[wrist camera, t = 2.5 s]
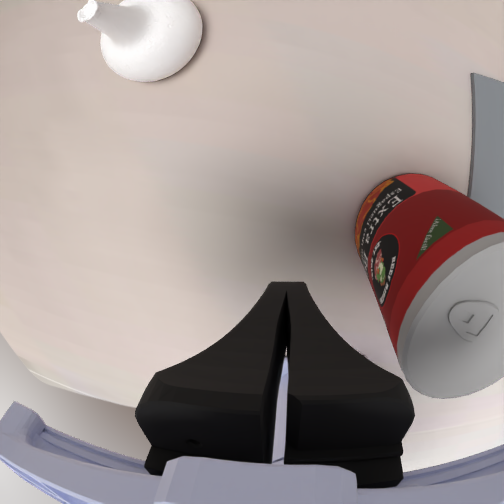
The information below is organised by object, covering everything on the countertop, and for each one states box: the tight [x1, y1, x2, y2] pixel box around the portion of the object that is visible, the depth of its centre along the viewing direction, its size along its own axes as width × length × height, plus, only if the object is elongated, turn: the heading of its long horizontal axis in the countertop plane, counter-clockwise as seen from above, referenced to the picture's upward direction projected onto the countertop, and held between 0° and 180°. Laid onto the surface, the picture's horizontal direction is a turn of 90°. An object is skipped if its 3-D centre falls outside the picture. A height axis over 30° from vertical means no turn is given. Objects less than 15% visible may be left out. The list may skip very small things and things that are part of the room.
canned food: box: [355, 174, 504, 399], centre depth 13 cm, size 8×8×11 cm
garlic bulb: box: [77, 0, 203, 82], centre depth 12 cm, size 6×6×8 cm
